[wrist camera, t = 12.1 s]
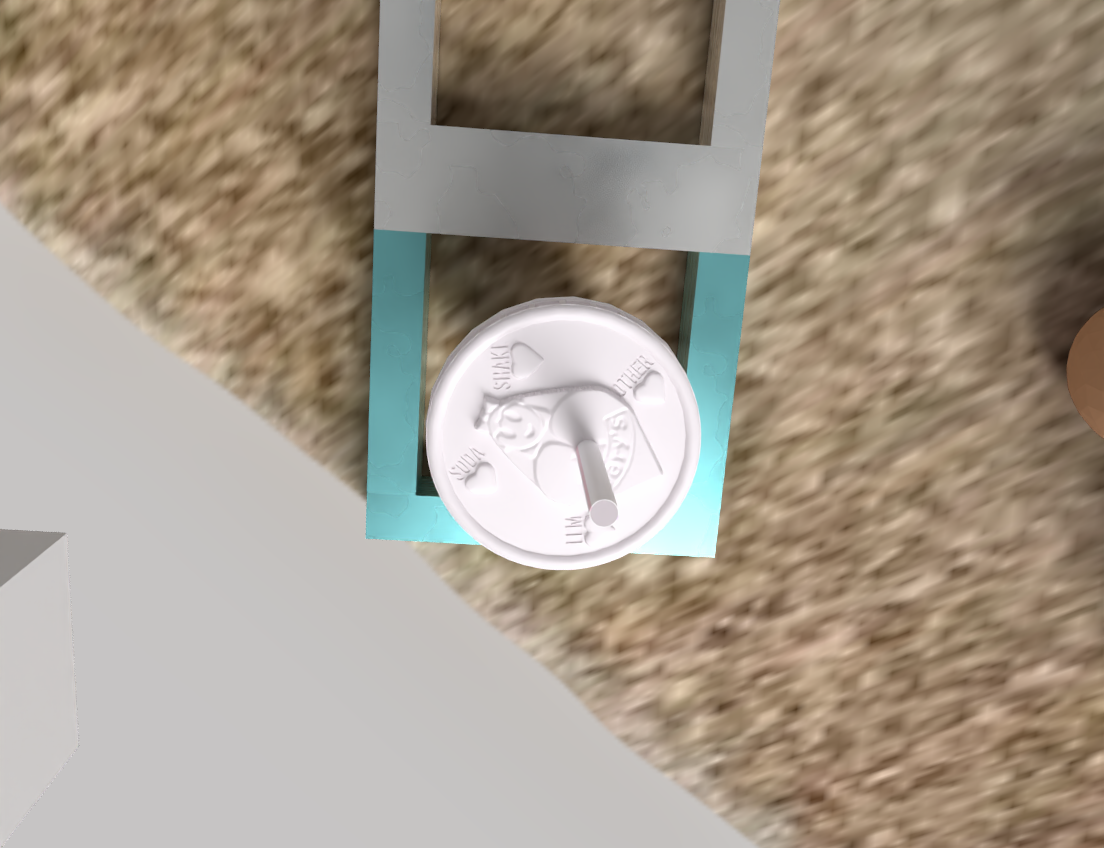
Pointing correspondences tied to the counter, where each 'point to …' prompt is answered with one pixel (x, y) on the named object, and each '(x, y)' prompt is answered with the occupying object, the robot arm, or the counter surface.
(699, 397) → the rail
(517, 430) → the smoothie
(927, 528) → the counter surface
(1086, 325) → the egg
